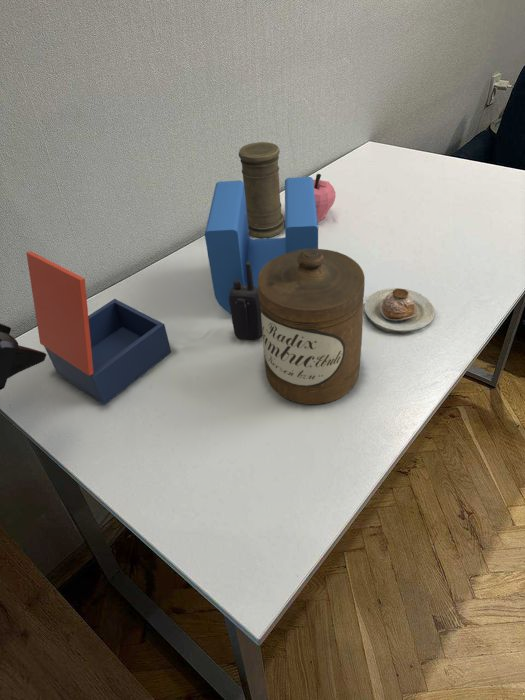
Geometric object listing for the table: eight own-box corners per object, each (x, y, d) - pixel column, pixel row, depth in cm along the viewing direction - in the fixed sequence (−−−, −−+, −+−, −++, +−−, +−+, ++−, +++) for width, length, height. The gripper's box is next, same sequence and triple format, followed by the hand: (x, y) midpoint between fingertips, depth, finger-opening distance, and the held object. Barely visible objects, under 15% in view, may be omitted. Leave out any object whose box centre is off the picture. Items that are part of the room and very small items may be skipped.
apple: (292, 212, 120) (290, 171, 113) (327, 206, 121) (328, 165, 114) (302, 231, 113) (301, 189, 106) (339, 225, 114) (341, 183, 107)
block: (218, 319, 92) (204, 231, 80) (226, 264, 105) (215, 181, 93) (317, 315, 91) (318, 225, 79) (313, 260, 104) (313, 176, 92)
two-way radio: (266, 330, 89) (260, 257, 79) (261, 347, 86) (254, 273, 76) (236, 328, 90) (226, 255, 80) (229, 344, 87) (218, 271, 77)
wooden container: (248, 385, 79) (233, 267, 65) (293, 330, 88) (289, 215, 74) (334, 419, 73) (340, 297, 58) (373, 356, 82) (386, 236, 67)
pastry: (359, 295, 94) (360, 275, 91) (423, 291, 94) (427, 270, 91) (370, 337, 86) (372, 316, 83) (442, 332, 85) (446, 311, 82)
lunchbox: (123, 325, 93) (114, 298, 88) (171, 352, 86) (164, 323, 82) (56, 372, 85) (43, 344, 80) (104, 405, 78) (92, 377, 74)
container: (269, 242, 111) (263, 161, 99) (237, 231, 115) (228, 152, 103) (292, 224, 116) (289, 145, 104) (261, 215, 120) (255, 138, 108)
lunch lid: (31, 251, 73) (26, 252, 72) (85, 278, 66) (79, 279, 66) (44, 342, 80) (39, 343, 80) (93, 373, 74) (89, 375, 74)
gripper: (-41, 289, 51) (86, 314, 64) (-113, 237, 60) (10, 267, 73) (-74, 390, 52) (57, 393, 65) (-139, 323, 62) (-14, 338, 75)
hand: (26, 343), depth 70 cm, fingers open, 9 cm apart
